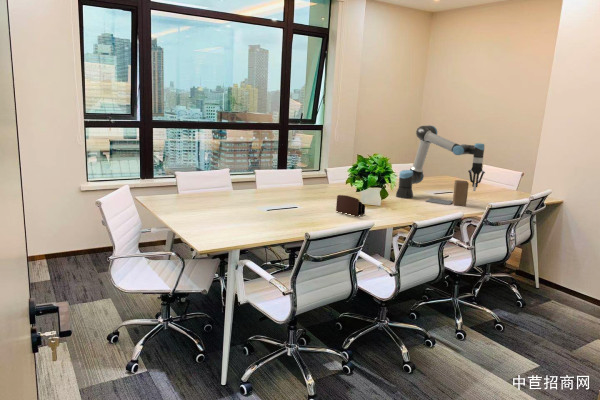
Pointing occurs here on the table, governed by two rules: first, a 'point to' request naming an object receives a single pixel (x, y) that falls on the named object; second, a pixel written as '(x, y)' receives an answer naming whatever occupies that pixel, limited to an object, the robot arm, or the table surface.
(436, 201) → the mat
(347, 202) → the letter holder
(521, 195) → the table surface
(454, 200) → the wooden block
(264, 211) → the table surface
